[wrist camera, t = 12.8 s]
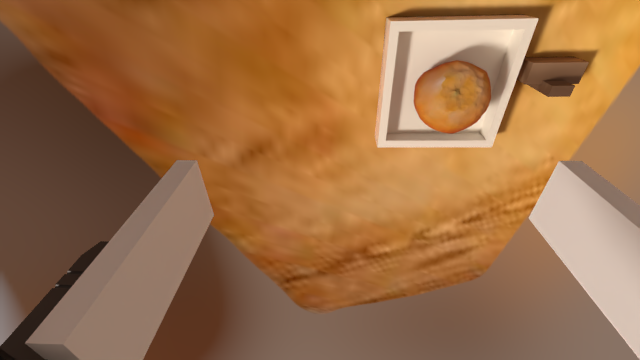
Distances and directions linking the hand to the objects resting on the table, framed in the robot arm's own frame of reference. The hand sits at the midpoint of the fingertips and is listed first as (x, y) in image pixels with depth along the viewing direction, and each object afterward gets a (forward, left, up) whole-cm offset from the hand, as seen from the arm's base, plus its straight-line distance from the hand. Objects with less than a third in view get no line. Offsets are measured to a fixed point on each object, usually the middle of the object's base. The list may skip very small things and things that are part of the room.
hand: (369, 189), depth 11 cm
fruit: (+5, +12, -28) cm, 31 cm away
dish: (+5, +12, -29) cm, 32 cm away
